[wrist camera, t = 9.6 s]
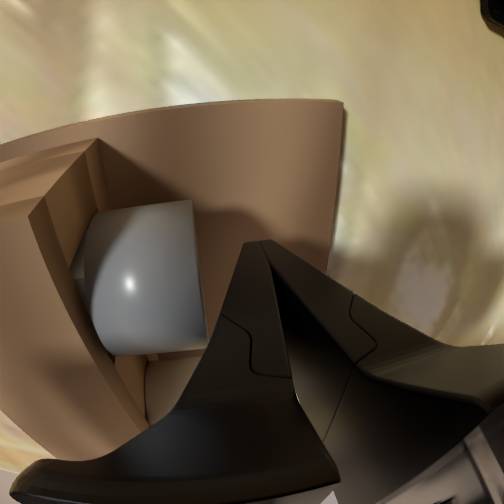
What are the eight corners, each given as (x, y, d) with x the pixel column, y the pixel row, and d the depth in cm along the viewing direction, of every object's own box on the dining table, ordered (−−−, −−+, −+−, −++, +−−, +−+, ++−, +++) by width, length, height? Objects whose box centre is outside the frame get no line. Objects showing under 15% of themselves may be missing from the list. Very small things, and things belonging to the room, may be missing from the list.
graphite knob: (189, 177, 9) (193, 254, 6) (203, 283, 11) (213, 377, 8) (-48, 223, 7) (-103, 291, 4) (-9, 304, 10) (-42, 378, 7)
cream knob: (205, 336, 12) (216, 421, 9) (215, 386, 15) (226, 457, 11) (15, 348, 11) (-6, 418, 8) (50, 394, 13) (40, 456, 10)
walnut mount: (335, 99, 10) (451, 153, 5) (304, 366, 18) (335, 452, 13) (-29, 155, 8) (-125, 237, 3) (83, 389, 16) (75, 476, 11)
